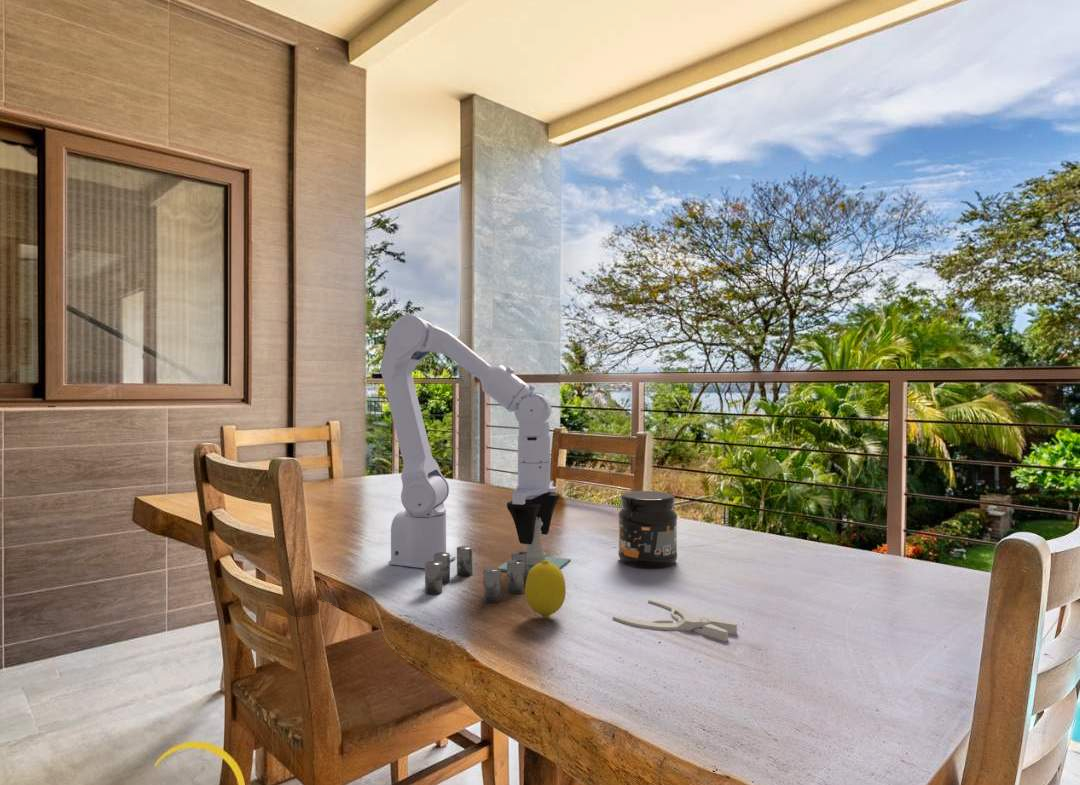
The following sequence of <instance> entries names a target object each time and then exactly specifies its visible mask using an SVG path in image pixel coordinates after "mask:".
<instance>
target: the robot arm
mask: <svg viewBox="0 0 1080 785" xmlns="http://www.w3.org/2000/svg"><path fill="white" fill-rule="evenodd" d="M385 334H386V343H385V347H384V352H383V355H382V359H381V362H380V373H381V374H380V375H381V378H382V380H383V385H384V389H385V393H386V397H387V400H388V404H389V410H390V412H391V413H390V414H391V418H392V422H393V425H394V429H395V435H396V438H397V441H398V446H399V451H400V454H401V457H402V462H403V466H402V471H401V474H400V475H401V476H400V478H401V482H402V483H401V484H402V490H401V494H400V501H401V504H402V506H403V508H404V509H405V511H400V512H398V513H396V515H395V516H394V517H393V519H392V521H391V525H390V560H389V561H388V565H393V566H394V565H395V566H401V567H402V566H403V567H408V568H409V567H410V568H419V569H425V563H426V562H429V561H434V554H435V553H439V552H447V509H446V507H445V505H444V503H445V501H446V500H447V499H448V497H449V493H450V486H449V482H448V480H447V479H446V477H445V476H444V475H443V474H442V472H441V470H440V466H439V464H438V462H437V461H436V459H435V458H434V457H433V455H432V451H431V447H430V442H429V439H428V434H427V430H426V426H425V422H424V419H423V415H422V414H423V413H422V410H421V406H420V402H419V399H418V394H417V391H416V385H415V383H414V378H413V372H414V370H415V369H416V367H417V366H418V365H419V364H420V361H421V360H422V359H424V358H425V357H426V356H427V355H429V354H431V353H436V354H443V355H445V356H446V357H448V358H449V359H450V360H452V361H453V362H455V363H456V364H458V365H459V366H460V367H462V368H463V369H465V370H466V371H467V372H469V373H470V374H471V375H472V376H474V377H476V378H477V379H478V380H479V381H480V385H481V389H482V392H484V393H485V395H487V396H489V398H491V399H493V401H495V402H497V403H498V404H499V405H500V406H502V407H503V408H504V409H506V410H507V411H508V412H510V413H511V412H514V416H515V418H516V421H517V423H518V435H517V486H516V488H515V490H514V491H513V492H512V495H511V496H512V497H511V498H512V500H510V501H507V502H506V508H507V510H508V511H509V513H510V516H511V518H512V520H513V522H514V525H515V529H516V533H517V539H518V542H519V544H520V545H521V544H522V545H526V544H532V542H533V537H534V528H535V521H536V517H538V520H539V517H540V518H541V521H542V522H543V525H542V526H541V531H542V533H541V535H549V532H550V526H551V522H552V518H553V514H554V511H555V507H556V505H557V504H558V501H559V500H560V493H555V492H557V489H558V488H557V486H554V480H551V435H550V428H551V427H550V421H548V420H549V418H550V417H551V414H552V405H551V403H550V400H549V399H548V397H546V396H545V394H544V393H542V392H538V391H536V392H535V390H536V386H535V385H533V384H527V383H526V382H525V381H523V379H521V378H520V377H518V376H517V375H516V374H514V373H515V369H514V368H512V367H511V366H507V367H505V366H504V365H503V364H501V365H500V364H499V365H494V366H493V365H491V364H490V363H488V361H486V360H485V359H484V358H482V357H481V356H479V355H478V354H477V353H476V352H475V351H473V350H472V349H471V348H470V347H468V345H467V344H465V343H464V342H463V341H461V339H459V338H458V337H456V336H455V334H453V333H451V332H449V331H447V330H446V329H444V328H442V327H440V326H438V325H436V324H435V322H432V321H431V320H429V319H423V318H420V317H418V316H416V315H414V314H404V315H402V316H401V315H400V316H399V317H398V318H396V319H395V321H394V322H393V323H392V324H391V326H390V327H389V329H388V330H387V331H386V333H385ZM456 559H457V555H452V554H450V562H451V561H453V560H456Z"/></svg>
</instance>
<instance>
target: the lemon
mask: <svg viewBox="0 0 1080 785" xmlns="http://www.w3.org/2000/svg"><path fill="white" fill-rule="evenodd" d="M524 587H525V588H524V592H525V598H526V602H527V605H528V607H529V608H530V609H531V610H532V611H533V612H534V613H536V614H538V615H540V616H541V617H542V618H543V619H549V617H550V616H551V615H552V614H556V612H558V611H559V610H560V609H561V607H562V606H563V604H564V602H565V599H566V590H567V588H566V581H565V577H564V574H563V571H562V570H561V569H559V568H558V567H557V566H556V565H554V564H553V563H550V562H549V561H548V560H543V561H542V562H541V563H538V564H536V565H535V566H534V567H532V569H531V570H530V571H529V573H528V574H527V579H526V582H525V586H524Z"/></svg>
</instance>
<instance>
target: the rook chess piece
mask: <svg viewBox="0 0 1080 785" xmlns="http://www.w3.org/2000/svg"><path fill="white" fill-rule="evenodd" d="M542 525H543V522H542V521H541V518H540V517H539V520H538V517H536V521H535V528H534V537H533V542H532V544H525V545H526V546H525V547H524V550H523V552H527V566H535V565H536V564H538V563H541V562H542V561H543V560H546V559H545V557H547V552H545V550H544V548H543V543H542V537H541V536H542V534H541V533H542V531H541V526H542Z"/></svg>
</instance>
